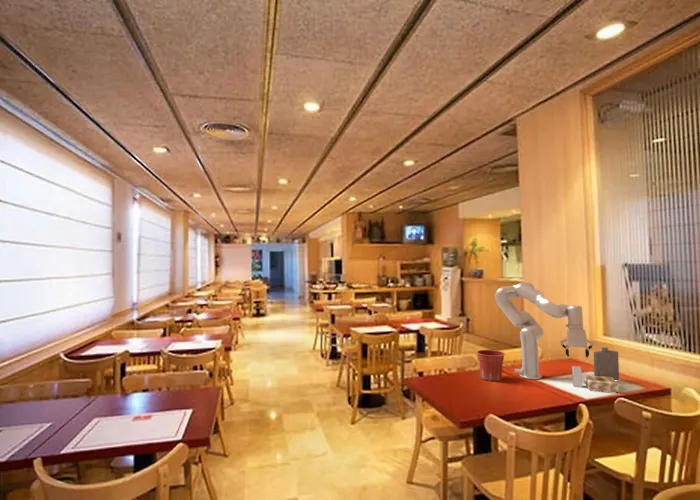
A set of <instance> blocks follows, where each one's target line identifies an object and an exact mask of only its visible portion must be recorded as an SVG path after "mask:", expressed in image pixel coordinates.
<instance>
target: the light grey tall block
mask: <svg viewBox="0 0 700 500" xmlns="http://www.w3.org/2000/svg"><path fill="white" fill-rule="evenodd" d="M571 369H572V370H571V371H572V386H573V388H581V387H582V386H583V382H582V381H583V379H582V367H581V366H580V365H579V366H576V365H572V367H571Z"/></svg>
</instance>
